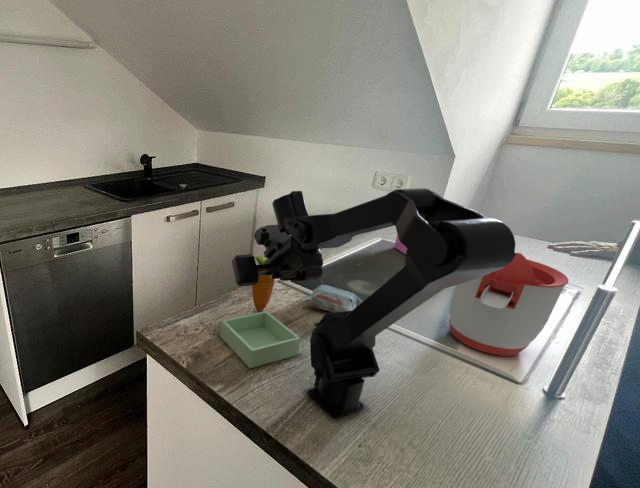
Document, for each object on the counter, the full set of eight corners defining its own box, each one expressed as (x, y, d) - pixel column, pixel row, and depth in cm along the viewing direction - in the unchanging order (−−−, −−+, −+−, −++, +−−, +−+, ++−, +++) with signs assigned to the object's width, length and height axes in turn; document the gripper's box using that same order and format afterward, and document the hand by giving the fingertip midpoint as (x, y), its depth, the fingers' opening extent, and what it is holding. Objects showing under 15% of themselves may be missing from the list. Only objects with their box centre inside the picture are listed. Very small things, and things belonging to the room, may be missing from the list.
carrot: (245, 314, 91) (252, 255, 85) (251, 305, 95) (258, 248, 89) (266, 320, 89) (275, 260, 83) (271, 310, 93) (280, 252, 87)
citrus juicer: (425, 340, 82) (455, 252, 74) (451, 313, 92) (480, 233, 84) (521, 379, 71) (568, 281, 63) (539, 343, 81) (581, 255, 73)
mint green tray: (297, 355, 77) (300, 338, 75) (249, 368, 73) (252, 351, 71) (264, 326, 86) (266, 310, 85) (220, 336, 82) (221, 320, 81)
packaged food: (350, 325, 87) (355, 305, 85) (299, 307, 94) (302, 289, 92) (361, 310, 93) (366, 292, 91) (312, 295, 100) (315, 277, 98)
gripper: (325, 214, 79) (290, 245, 93) (239, 219, 75) (216, 250, 90) (341, 265, 75) (302, 289, 89) (251, 272, 72) (226, 296, 86)
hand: (261, 280), depth 89 cm, fingers open, 9 cm apart
